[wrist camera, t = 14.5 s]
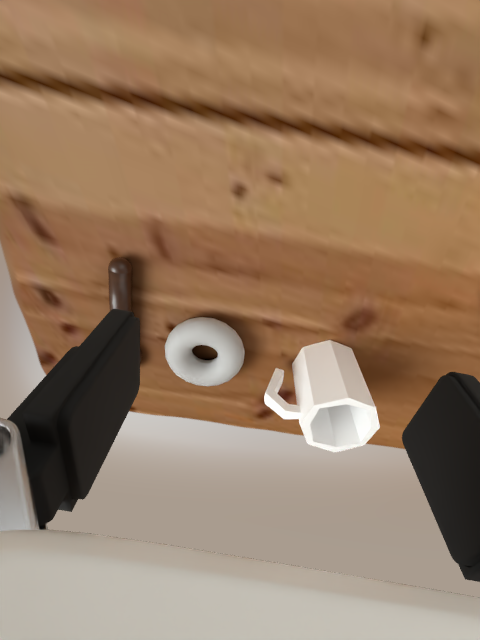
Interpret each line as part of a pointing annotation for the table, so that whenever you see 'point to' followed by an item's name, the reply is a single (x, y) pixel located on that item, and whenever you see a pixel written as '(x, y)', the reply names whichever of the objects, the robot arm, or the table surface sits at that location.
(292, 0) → the table surface
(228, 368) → the donut
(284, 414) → the mug
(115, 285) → the spoon
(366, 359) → the table surface
